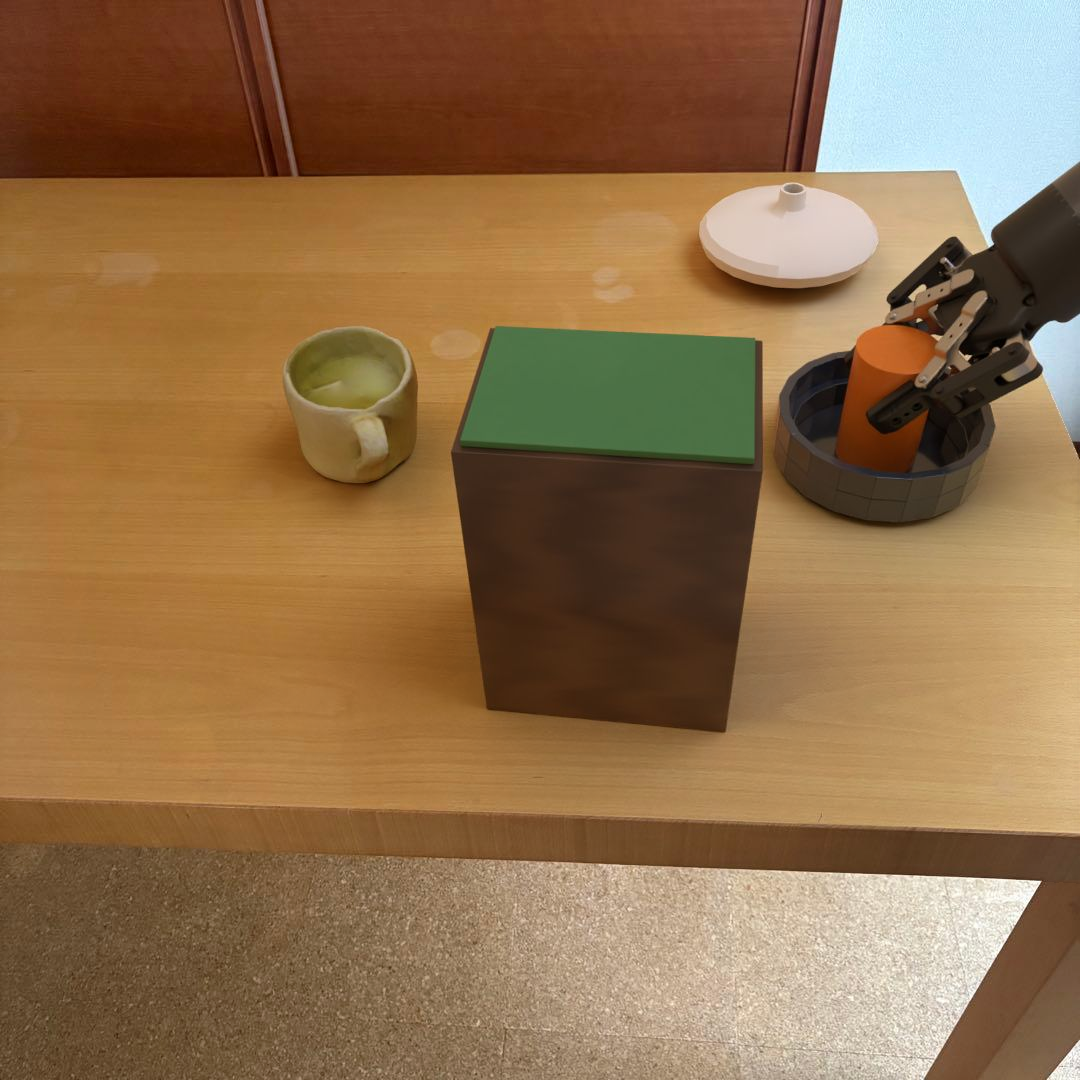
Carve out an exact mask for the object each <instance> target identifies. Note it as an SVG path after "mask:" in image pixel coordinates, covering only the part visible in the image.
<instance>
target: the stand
mask: <svg viewBox="0 0 1080 1080" xmlns="http://www.w3.org/2000/svg"><path fill="white" fill-rule="evenodd" d="M494 330H495V327H490V328H489V331H488V333H487V336H486V339H485V343H484V347H483V350H482V352H481V356H480V359H479V362H478V365H477V368H476V372H475V375H474V377H473V381H472V384H471V387H470V390H469V393H468V397H467V400H466V403H465V406H464V409H463V413H462V416H461V418H460V422H459V425H458V428H457V431H456V434H455V437H454V441H453V444H452V447H451V450H450V456H451V465H452V471H453V477H454V478H453V479H454V485H455V492H456V499H457V507H458V514H459V520H460V521H459V522H460V528H461V536H462V542H463V550H464V556H465V557H464V558H465V563H466V570H467V571H466V572H467V578H468V585H469V591H470V592H469V593H470V599H471V600H470V601H471V606H472V613H473V621H474V628H475V635H476V642H477V649H478V656H479V665H480V671H481V676H482V677H481V678H482V686H483V693H484V699H485V706H486V707H485V708H486V709H487V710H492V711H502V712H503V711H504V712H514V713H524V714H525V713H526V714H534V715H543V716H544V715H546V716H555V717H564V718H565V717H567V718H575V719H584V720H585V719H586V720H597V721H607V722H617V723H618V722H619V723H627V724H637V725H638V724H639V725H647V726H648V725H649V726H656V727H657V726H658V727H669V728H679V729H690V730H699V731H708V732H709V731H711V732H720V733H726V732H727V726H728V718H729V712H730V704H731V698H732V691H733V684H734V675H735V669H736V663H737V656H738V649H739V643H740V634H741V628H742V621H743V614H744V608H745V607H744V606H745V599H746V592H747V586H748V578H749V572H750V571H749V570H750V564H751V557H752V550H753V544H754V538H755V537H754V536H755V529H756V521H757V515H758V510H759V509H758V507H759V500H760V496H761V495H760V494H761V487H762V481H763V474H764V422H763V421H764V416H763V414H764V410H763V409H764V402H763V401H764V400H763V399H764V397H763V396H764V393H763V391H764V390H763V389H764V387H763V385H764V384H763V383H764V382H763V381H764V379H763V378H764V377H763V376H764V373H763V372H764V371H763V370H764V367H763V366H764V360H763V359H764V357H763V353H764V352H763V349H764V347H763V345H764V342H763V340H759V339H758V340H757V339H755V458H754V464H738V463H722V462H706V461H690V460H674V459H658V458H641V457H625V456H609V455H593V454H577V453H561V452H545V451H529V450H513V449H497V448H481V447H465V446H461V444H460V439H461V435H462V432H463V429H464V426H465V423H466V419H467V416H468V413H469V410H470V407H471V403H472V400H473V397H474V394H475V391H476V387H477V384H478V381H479V378H480V375H481V371H482V368H483V365H484V362H485V359H486V355H487V352H488V349H489V346H490V343H491V339H492V336H493V333H494Z"/></svg>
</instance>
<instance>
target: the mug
mask: <svg viewBox="0 0 1080 1080" xmlns="http://www.w3.org/2000/svg"><path fill="white" fill-rule="evenodd" d="M282 386H283V392H284V396H285V398H286V403H287V405H288V407H289V410H290V412H291V413H290V414H291V416H292V419H293V421H294V424H295V427H296V431H297V435H298V439H299V445H300V449H301V452H302V454H303V456H304V458H305V461H307V463H308V464H309V465H310V467H311V468H312V469H313V470H314V471H316V472H317V473H318V474H320V475H321V476H322V477H324V478H327V479H330V480H334V481H337V482H341V483H348V484H366V483H369V482H373V481H377V480H379V479H382V478H383V477H384V476H386V475H387V474H389V473H390V472H391V471H393V470H394V469H395V468H396V467H397V466H398V465H399V464H401V463H402V462H404V461H406V460H407V459H408V458H409V456H410V455H411V454H412V452H413V451H414V448H415V445H416V443H417V435H418V394H419V382H418V374H417V370H416V366H415V362H414V359H413V357H412V355H411V352H410V350H409V349H408V348H407V346H406V345H405V344H403V342H402V341H401V340H400V339H398V338H395V337H392V336H389V335H387V334H386V333H385V332H382V331H381V330H379V329H376V328H373V327H369V326H365V325H355V326H354V325H353V326H352V325H350V326H341V327H339V326H338V327H334V328H332V329H324V330H323V329H322V330H321V331H319V332H317V333H315V334H313V335H312V336H309V337H306V338H305V339H303V340H302V341H300V342H299V343H298V344H297V345H296V346H295V347H294V348H293V350H292V351H291V352H290V353H289V355H288V356H287V358H286V361H285V363H284V366H283V369H282Z"/></svg>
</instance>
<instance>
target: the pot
mask: <svg viewBox="0 0 1080 1080" xmlns="http://www.w3.org/2000/svg"><path fill="white" fill-rule="evenodd" d="M850 351H851V350H845V351H838V352H837V351H836V352H831V353H829V354H826V355H823V356H821V357H818V358H815V359H812V360H809V361H807V362H806V363H805V364H803V365H802V366H801V367H799V368H798V369H797V370H796V371H794V372H793V373H792V374H790V375H789V376H788V377H787V380H786V381H785V383H784V385H783V387H782V389H781V391H780V393H779V394H778V395H779V396H778V402H777V407H776V408H777V409H776V416H775V422H774V429H773V436H772V439H773V440H772V443H773V445H772V447H773V449H772V451H773V458H774V459H775V461H776V464H777V466H778V467H779V469H780V471H781V473H782V476H783V477H784V479H786V480H787V481H788V482H789V483H790V484H791V485H792V486H793V487H794V488H795V489H796V490H797V491H798V492H799V493H800V494H801V495H803V496H804V498H805V497H806V498H808V499H809V500H811V501H813V502H815V503H816V504H819V505H820V506H822V507H824V508H826V509H828V510H830V511H831V512H834V513H839V514H842V515H845V516H849V517H852V518H856V519H860V520H864V521H872V522H890V523H905V522H912V521H913V522H914V521H919V520H925V519H931V518H935V517H937V516H939V515H942V514H944V513H946V512H948V511H951V510H952V509H955V508H957V507H958V506H960V505H961V504H962V503H963V502H964V501H965V500H966V499H967V498H968V497H969V496H970V495H971V494H972V493H973V492H974V491H975V490H976V488H977V485H978V483H979V480H980V477H981V473H982V470H983V468H984V464H985V461H986V458H987V457H988V453H989V450H990V447H991V443H992V440H993V437H994V433H995V430H996V423H995V422H996V421H995V418H994V414H993V410H992V406H991V404H990V403H989V404H987V405H985V406H983V407H981V408H979V409H977V410H975V411H973V412H971V413H969V414H967V415H965V416H963V417H961V418H958V419H956V418H954V417H952V416H951V415H950V414H949V412H947V411H945V410H944V409H942V408H941V407H938V406H936V407H932V408H930V409H929V411H928V415H927V419H926V422H925V426H924V429H923V433H922V437H921V440H920V444H919V448H918V451H917V455H916V459H915V462H914V464H913V466H912V467H911V468H910V469H909V470H908V471H907V472H905V473H900V472H884V471H875V470H871V469H867V468H864V467H860V466H856V465H852V464H849V463H845V462H843V461H841V460H839V459H838V457H837V455H836V451H835V445H836V440H837V435H838V430H839V425H840V420H841V415H842V411H843V406H844V401H845V396H846V391H847V386H848V381H849V376H850V371H851V370H850V369H849V368H848V367H847V366H846V363H845V360H844V357H845V355H846V354H847V353H848V352H850ZM950 372H951V368H950V367H948V368H947V369H946V371H945V372H944V373H943V374H942V375H941V376H940V378H939V379H940V380H941V381H944V380H945V379H946V378H947V376H948V375H949V374H950ZM975 389H976V388H975V387H971V388H968V389H966V390H965V391H963V392H961V393H959V395H960V396H961V397H962V396H964V395H965V394H967V393H969V392H971V391H973V390H975Z"/></svg>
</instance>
